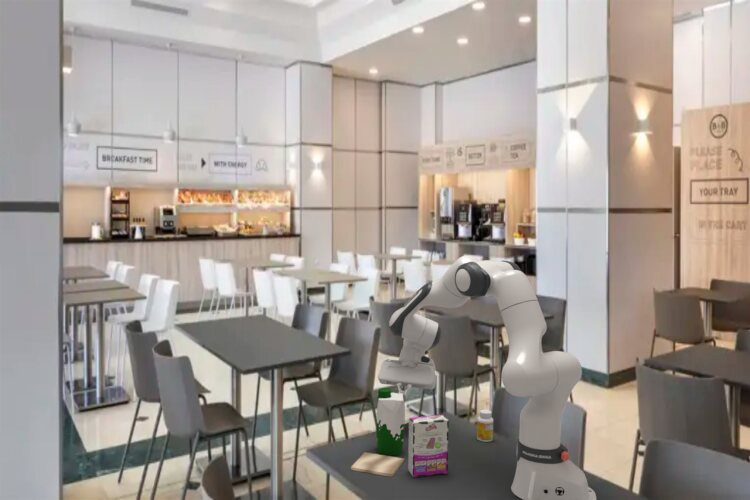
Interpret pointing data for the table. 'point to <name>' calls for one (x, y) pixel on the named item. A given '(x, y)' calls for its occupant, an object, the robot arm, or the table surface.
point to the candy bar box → (428, 445)
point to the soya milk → (390, 422)
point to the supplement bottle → (485, 426)
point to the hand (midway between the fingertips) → (402, 396)
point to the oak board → (377, 464)
